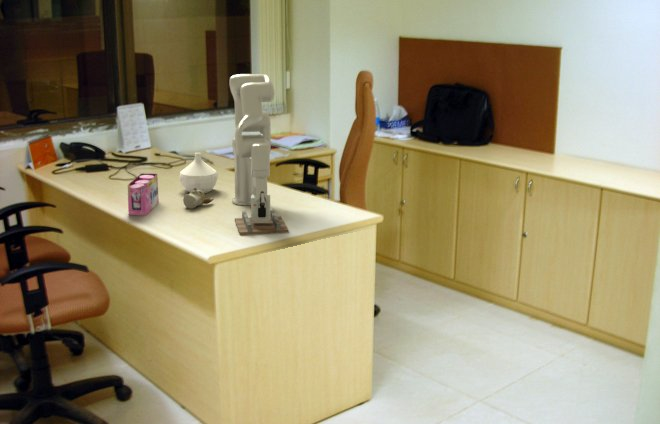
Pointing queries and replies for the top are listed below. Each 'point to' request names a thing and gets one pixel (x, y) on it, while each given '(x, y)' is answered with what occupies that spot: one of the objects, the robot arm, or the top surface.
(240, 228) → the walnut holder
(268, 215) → the small box
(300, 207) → the top surface
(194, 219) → the top surface
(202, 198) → the ceramic sculpture
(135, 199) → the gum box
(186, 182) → the vase
